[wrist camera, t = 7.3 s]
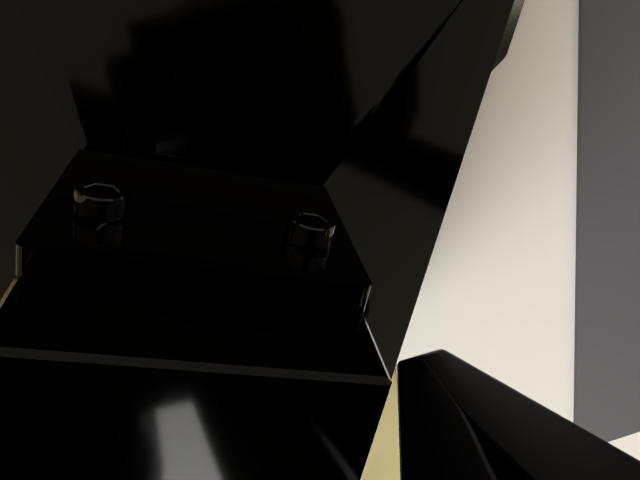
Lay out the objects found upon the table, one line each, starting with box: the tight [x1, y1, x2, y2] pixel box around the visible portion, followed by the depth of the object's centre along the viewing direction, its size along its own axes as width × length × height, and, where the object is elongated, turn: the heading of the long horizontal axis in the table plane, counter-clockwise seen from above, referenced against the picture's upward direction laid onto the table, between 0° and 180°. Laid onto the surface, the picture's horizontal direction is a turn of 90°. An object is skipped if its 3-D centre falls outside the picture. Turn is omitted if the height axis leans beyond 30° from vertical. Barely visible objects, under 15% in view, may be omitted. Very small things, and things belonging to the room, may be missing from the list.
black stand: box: [0, 0, 525, 480], centre depth 7 cm, size 12×7×5 cm, turn 167°
